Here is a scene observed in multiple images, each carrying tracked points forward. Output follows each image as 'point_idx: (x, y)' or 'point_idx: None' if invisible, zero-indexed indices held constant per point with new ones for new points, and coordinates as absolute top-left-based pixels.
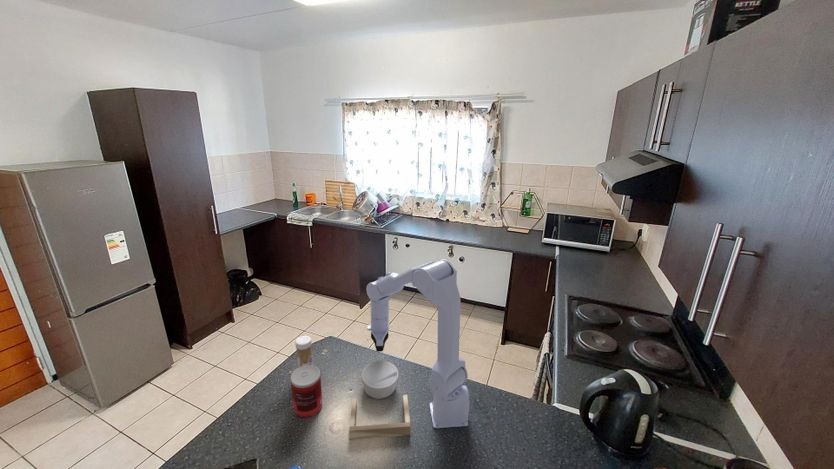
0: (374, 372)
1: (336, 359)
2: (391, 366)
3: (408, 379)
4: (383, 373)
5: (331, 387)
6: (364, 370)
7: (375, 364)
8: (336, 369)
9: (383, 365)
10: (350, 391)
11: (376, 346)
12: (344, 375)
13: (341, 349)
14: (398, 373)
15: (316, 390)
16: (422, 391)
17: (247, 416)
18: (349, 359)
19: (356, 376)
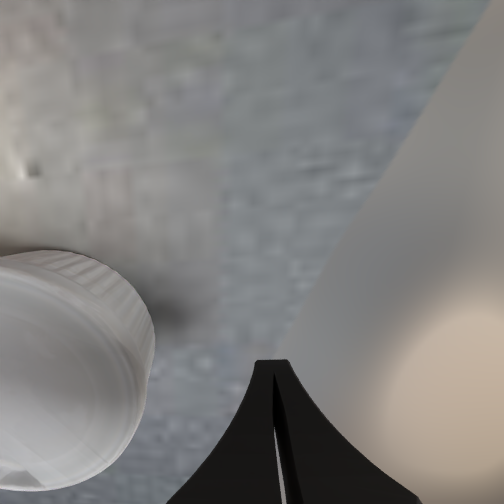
0: (2, 359)
1: (313, 18)
2: (82, 460)
3: (138, 447)
4: (7, 414)
5: (30, 29)
6: (11, 286)
7: (92, 361)
8: (204, 37)
9: (85, 414)
10: (18, 169)
11: (249, 400)
12: (147, 110)
13: (427, 43)
14: (37, 487)
15: None
16: (71, 491)
17: None
18: (304, 126)
19: (143, 193)
